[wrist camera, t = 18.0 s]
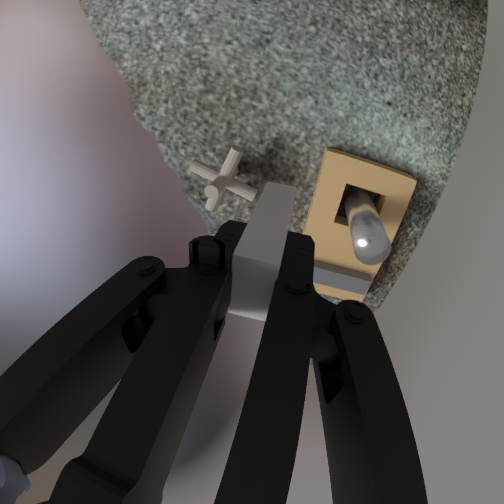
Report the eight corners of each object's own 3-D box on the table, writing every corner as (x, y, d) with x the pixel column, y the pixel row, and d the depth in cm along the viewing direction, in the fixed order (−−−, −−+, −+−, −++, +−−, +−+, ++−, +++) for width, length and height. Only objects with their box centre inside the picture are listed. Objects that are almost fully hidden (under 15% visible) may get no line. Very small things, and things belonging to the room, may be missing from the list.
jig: (326, 146, 37) (328, 153, 33) (410, 175, 36) (421, 185, 31) (289, 274, 50) (286, 292, 46) (359, 292, 49) (361, 310, 45)
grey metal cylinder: (348, 184, 39) (362, 226, 28) (374, 193, 39) (397, 237, 27) (340, 210, 41) (348, 260, 30) (365, 217, 41) (381, 269, 30)
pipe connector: (275, 157, 39) (264, 177, 31) (247, 209, 45) (231, 240, 37) (216, 128, 38) (190, 140, 30) (194, 182, 44) (166, 206, 36)
